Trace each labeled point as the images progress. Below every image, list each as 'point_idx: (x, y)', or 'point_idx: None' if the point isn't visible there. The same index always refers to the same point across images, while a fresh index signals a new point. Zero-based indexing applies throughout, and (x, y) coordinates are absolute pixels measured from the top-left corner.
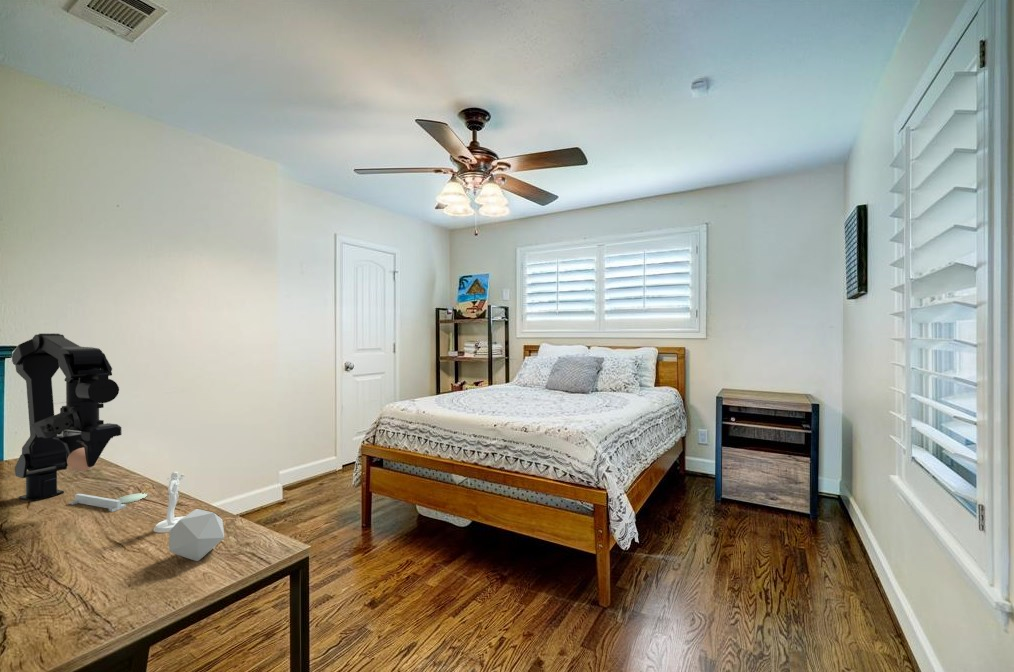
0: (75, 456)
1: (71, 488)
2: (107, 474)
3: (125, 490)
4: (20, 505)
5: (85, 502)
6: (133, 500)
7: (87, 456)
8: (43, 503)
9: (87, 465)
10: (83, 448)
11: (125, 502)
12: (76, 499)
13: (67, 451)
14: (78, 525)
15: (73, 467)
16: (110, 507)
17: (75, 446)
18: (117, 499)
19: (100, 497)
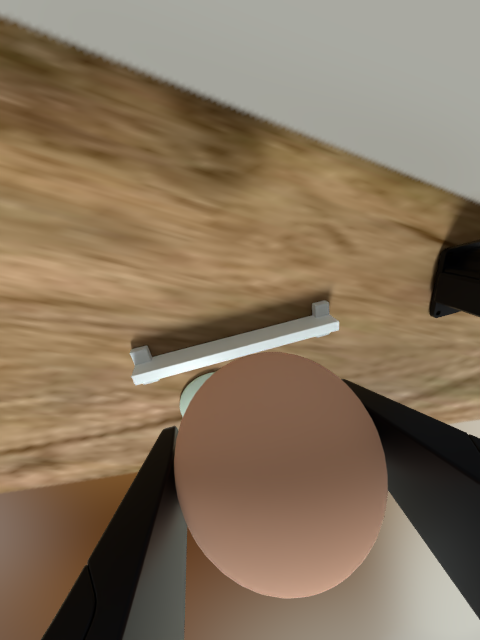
0: (222, 457)
1: (448, 334)
2: (463, 400)
3: None
4: (444, 220)
5: (284, 325)
6: (182, 401)
7: (114, 525)
8: (400, 261)
9: (170, 432)
10: (292, 584)
11: (187, 386)
12: (325, 316)
13: (466, 435)
14: (62, 256)
15: (224, 367)
16: (169, 354)
17: (470, 529)
18: None
19: (234, 356)
